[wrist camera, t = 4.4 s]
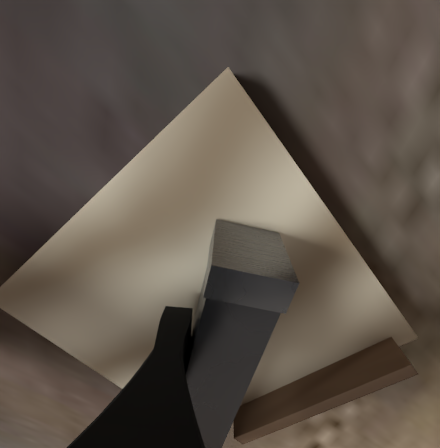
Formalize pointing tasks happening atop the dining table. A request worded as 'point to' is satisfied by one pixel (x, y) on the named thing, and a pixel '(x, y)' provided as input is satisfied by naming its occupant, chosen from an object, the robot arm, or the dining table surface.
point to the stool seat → (197, 264)
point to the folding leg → (235, 321)
